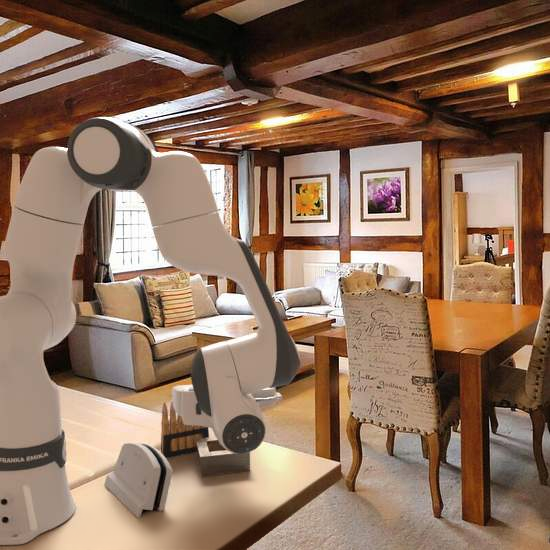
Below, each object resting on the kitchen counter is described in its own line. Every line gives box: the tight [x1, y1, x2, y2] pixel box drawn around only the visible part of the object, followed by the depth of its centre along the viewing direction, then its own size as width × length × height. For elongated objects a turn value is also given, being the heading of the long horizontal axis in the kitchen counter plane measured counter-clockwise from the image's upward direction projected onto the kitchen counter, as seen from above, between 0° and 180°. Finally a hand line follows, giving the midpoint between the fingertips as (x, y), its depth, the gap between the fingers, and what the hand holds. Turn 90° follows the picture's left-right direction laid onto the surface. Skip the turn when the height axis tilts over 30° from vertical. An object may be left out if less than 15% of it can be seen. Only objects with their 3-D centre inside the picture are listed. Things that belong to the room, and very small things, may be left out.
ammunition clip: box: [160, 401, 210, 459], centre depth 125 cm, size 11×2×12 cm, turn 117°
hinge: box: [104, 442, 173, 518], centre depth 107 cm, size 17×5×10 cm, turn 37°
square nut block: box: [195, 436, 251, 477], centre depth 120 cm, size 10×10×4 cm
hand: (219, 384), depth 119 cm, fingers closed on pin, 4 cm apart
